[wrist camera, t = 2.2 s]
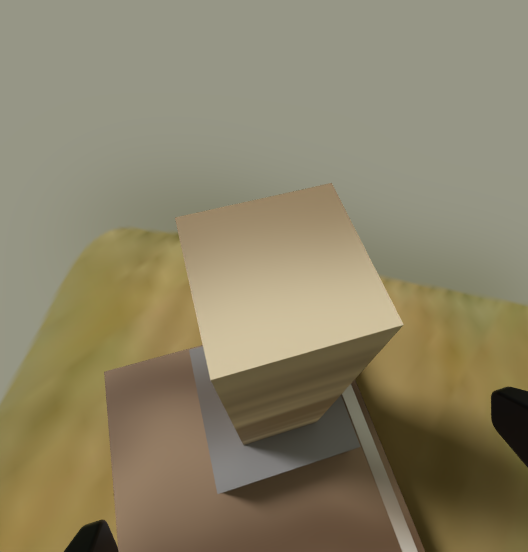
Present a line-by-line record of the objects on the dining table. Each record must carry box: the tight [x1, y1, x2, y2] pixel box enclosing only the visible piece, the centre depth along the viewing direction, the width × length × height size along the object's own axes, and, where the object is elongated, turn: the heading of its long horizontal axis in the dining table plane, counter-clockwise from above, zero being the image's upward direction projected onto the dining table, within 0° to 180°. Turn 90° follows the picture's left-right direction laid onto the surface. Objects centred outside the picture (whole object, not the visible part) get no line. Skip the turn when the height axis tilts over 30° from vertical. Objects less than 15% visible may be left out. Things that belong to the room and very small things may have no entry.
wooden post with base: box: [175, 183, 403, 494], centre depth 12 cm, size 6×6×13 cm
